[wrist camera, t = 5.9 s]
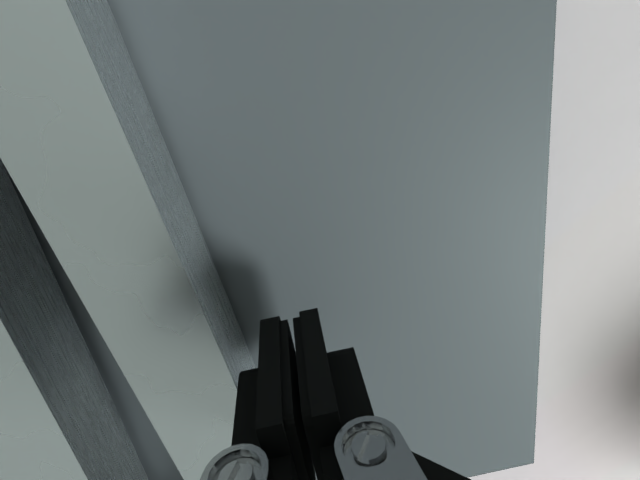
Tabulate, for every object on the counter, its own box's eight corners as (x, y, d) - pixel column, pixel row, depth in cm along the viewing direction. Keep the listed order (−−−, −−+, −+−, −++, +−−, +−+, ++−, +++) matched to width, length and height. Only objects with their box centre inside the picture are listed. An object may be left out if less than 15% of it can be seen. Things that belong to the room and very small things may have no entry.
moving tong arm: (-380, -407, 7) (-867, -767, 4) (-84, -491, 7) (-350, -910, 4) (196, 542, 16) (180, 642, 13) (317, 508, 16) (326, 601, 13)
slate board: (-566, -408, 7) (-689, -478, 6) (550, -548, 8) (587, -630, 7) (51, 544, 17) (38, 570, 16) (520, 442, 18) (533, 463, 17)
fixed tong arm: (-225, -47, 8) (-421, -94, 6) (-96, -68, 9) (-239, -122, 6) (116, 559, 16) (89, 643, 14) (183, 544, 16) (167, 625, 14)
